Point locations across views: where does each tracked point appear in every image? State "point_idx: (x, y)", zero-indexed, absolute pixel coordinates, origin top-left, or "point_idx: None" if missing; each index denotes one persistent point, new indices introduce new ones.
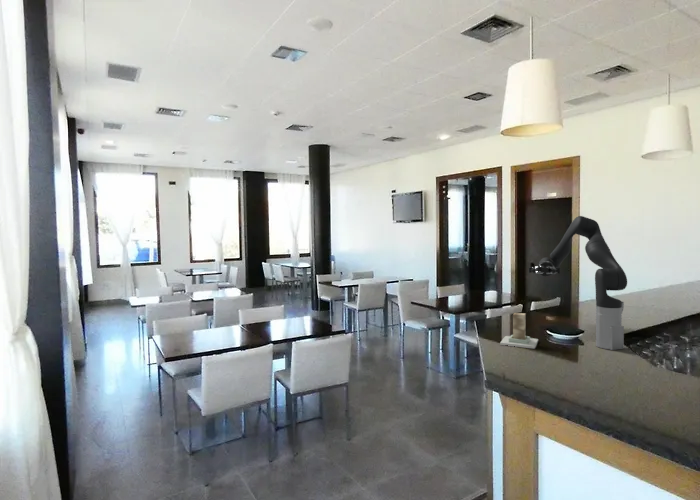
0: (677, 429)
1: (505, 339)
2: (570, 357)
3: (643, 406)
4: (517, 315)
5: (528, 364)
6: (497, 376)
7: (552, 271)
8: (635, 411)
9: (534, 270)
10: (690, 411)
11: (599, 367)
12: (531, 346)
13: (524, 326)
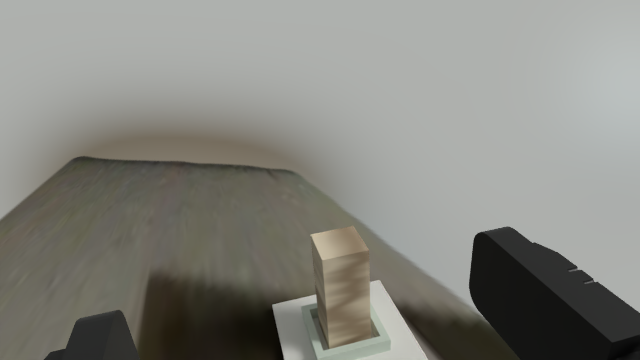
0: (72, 168)
1: (392, 319)
2: (163, 297)
3: (85, 187)
4: (336, 231)
5: (251, 218)
6: (277, 169)
7: (128, 340)
8: (101, 176)
9: (472, 253)
10: (27, 199)
11: (101, 271)
12: (282, 303)
13: (316, 279)
